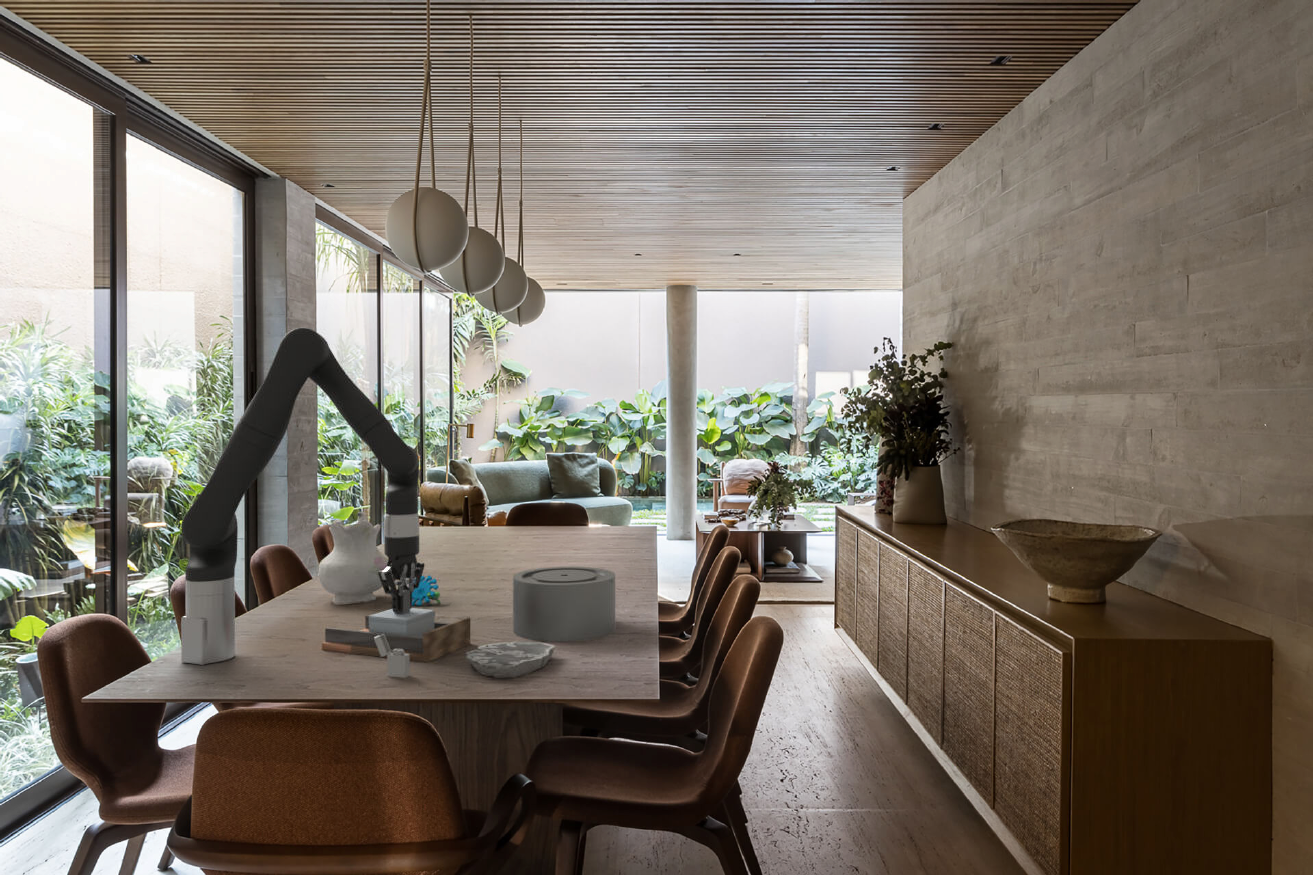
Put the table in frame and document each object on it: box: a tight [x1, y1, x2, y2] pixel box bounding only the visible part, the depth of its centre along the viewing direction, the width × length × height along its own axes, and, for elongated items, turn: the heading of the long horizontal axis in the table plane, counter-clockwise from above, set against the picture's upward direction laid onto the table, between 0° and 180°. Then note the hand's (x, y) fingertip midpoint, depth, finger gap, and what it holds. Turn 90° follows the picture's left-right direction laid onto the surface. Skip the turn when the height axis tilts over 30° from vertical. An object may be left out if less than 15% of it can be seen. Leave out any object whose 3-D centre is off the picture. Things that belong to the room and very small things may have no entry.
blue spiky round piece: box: [412, 574, 441, 607], centre depth 229 cm, size 11×6×10 cm
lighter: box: [374, 634, 411, 679], centre depth 161 cm, size 7×2×8 cm, turn 75°
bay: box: [321, 614, 471, 663], centre depth 183 cm, size 16×28×6 cm, turn 69°
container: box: [512, 566, 616, 643], centre depth 199 cm, size 25×25×13 cm
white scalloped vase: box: [317, 510, 388, 606], centre depth 234 cm, size 22×20×25 cm
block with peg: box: [369, 590, 436, 638], centre depth 182 cm, size 10×10×11 cm
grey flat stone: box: [464, 640, 555, 679], centre depth 168 cm, size 20×17×3 cm
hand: (402, 610), depth 182 cm, fingers closed on block with peg, 2 cm apart
